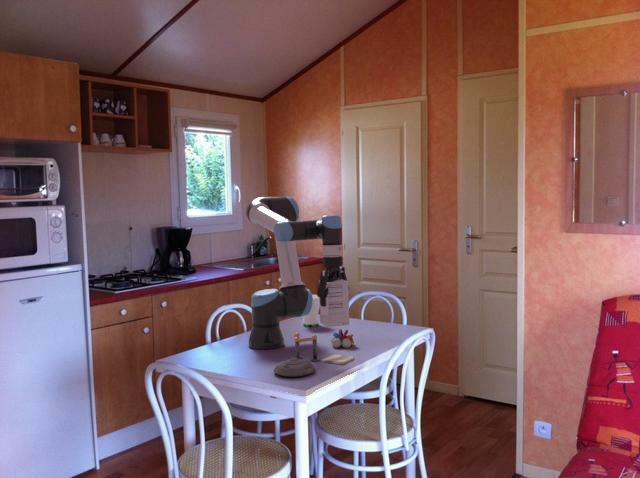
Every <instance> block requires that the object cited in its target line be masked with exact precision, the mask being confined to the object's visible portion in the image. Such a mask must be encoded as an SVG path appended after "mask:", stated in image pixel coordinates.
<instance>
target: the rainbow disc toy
mask: <svg viewBox="0 0 640 478" xmlns="http://www.w3.org/2000/svg"><path fill="white" fill-rule="evenodd" d="M348 333H349V329H345V331H344V333H343V330H342V329H341V328H340V329H338V333H337V332H335V331H334V332H332V334H333V337H332V338H331V340H330V342H331V345H332V346H333V347H334V348H340V347H342V348H345V349H348V348H350V347H351V346H352V345H354V344H355V341H354V338H353V337H354V334H353V333H352V334H351V333H350V334H349V335H348Z"/></svg>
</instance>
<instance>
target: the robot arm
mask: <svg viewBox="0 0 640 478" xmlns="http://www.w3.org/2000/svg"><path fill="white" fill-rule="evenodd" d="M299 209H300V208H299V205H298V202H297V201H296V199H294V197H292V196H284V195H282V196H261V197H257V198H254V199H253V200H251V201H250V202H249V203H248V205H247V206H246V210H245V215H246V217H247V220H248V221H250V222H251V223H252V224H253V225H256V226H262V227H263V228H265V229H267V230H268V231H270V232H271V233H273V236H274V239H275V246H276V247H275V248H276V253H277V260H278V267H279V273H280V280H281V285H280V286H279V287H278V289H276V288H268V289H267V288H265V289H261V290H258V291H255V292H254V293H252V295H251V300H250V301H251V302H250V306H251V327H252V328H251V331H250V335H249V339H248V347H249V348H251V349H255V350H272V349H278V348H281V347H283V346H285V339H284V336H283V332H282V329H281V327H280V325H281V324H280V320H283V319H292V318H301V317H303V316H306V315H308V314H309V313H310V311H311V308H312V304H313V297H312V295H313V293H312V291H311V290H310V289H308V288H307V286H306V284H305V283H304V282H303V281H302V278H301V273H300V272H301V271H300V265H299V257H298V252H297V251H298V250H297V243H296V241H310V240H312V241H314V240H321V242H322V246H321V247H322V250H321V251H322V255H323V256H322V266H323V267H325V270H320V278H319V280H320V283H319V282H318V288H317V292H316V293H317V294H316V295H317V296H318V297H320V298H321V315H329V310H328V297H327V295H328V292H329V291H328V288H326V284H327V282H333V281H335V280H338V279H340V280H341V279H343V280H345V281H348V279H347V278H348V277H347V274H346V268H345V267H344V266H343V265H344V264H343V259H344V258H343V256H342V255H343V224H342V216H341V215H340V214H336V215H335V214H330V215H329V214H328V215H322V217H321V219H313V220H311V219H310V220H299V218H300V210H299ZM348 287H349V288H350V285H349V284H348Z"/></svg>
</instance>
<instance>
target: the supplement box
mask: <svg viewBox="0 0 640 478" xmlns="http://www.w3.org/2000/svg"><path fill="white" fill-rule="evenodd" d="M319 283H320V279H319V280H318V284H319ZM348 285H349V281H348V280H347V281H345V280H343V279H341V280H340V279H338V280H335V281H333V282H327V284H326V288H328V291H329V292H328V295H327V297H328V310H329V315H321V298H320V297H319V301H320V306H319V323H320V324H322V325H323V326H325V327H326V328H333V327H345V326H350V302H349V301H350V300H349V299H350V296H349V294H350V293H349V291H350V286H349V287H348Z"/></svg>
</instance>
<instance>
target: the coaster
mask: <svg viewBox="0 0 640 478" xmlns="http://www.w3.org/2000/svg"><path fill="white" fill-rule="evenodd" d="M353 360H355V356H350V355H344V354H343V355H342V354H335V353H333V354H331V355H329V356H327V357H325V358H322V360H321V362H322V363H328V364H336V365H341V366H343V365H345V364H347V363H349V362H352V361H353Z"/></svg>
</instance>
